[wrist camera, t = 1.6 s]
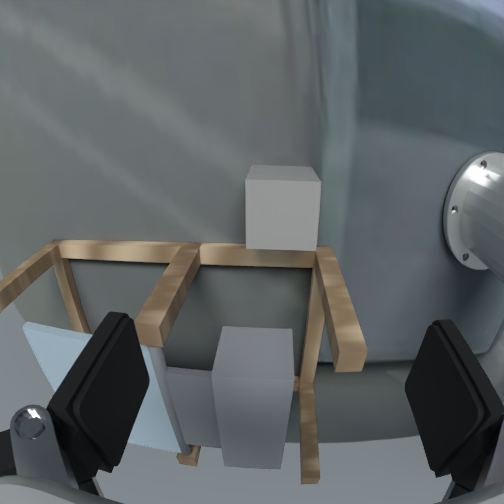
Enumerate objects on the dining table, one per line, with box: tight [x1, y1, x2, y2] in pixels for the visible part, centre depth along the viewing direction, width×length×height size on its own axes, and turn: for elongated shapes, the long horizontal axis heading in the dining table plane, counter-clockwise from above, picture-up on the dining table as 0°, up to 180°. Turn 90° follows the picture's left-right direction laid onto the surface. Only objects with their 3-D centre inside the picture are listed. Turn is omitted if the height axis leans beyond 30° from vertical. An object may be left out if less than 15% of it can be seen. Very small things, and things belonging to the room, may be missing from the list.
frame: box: [0, 240, 368, 484], centre depth 27 cm, size 30×19×14 cm, turn 90°
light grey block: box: [245, 165, 321, 251], centre depth 24 cm, size 5×5×6 cm
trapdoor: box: [22, 322, 294, 469], centre depth 23 cm, size 21×15×5 cm
